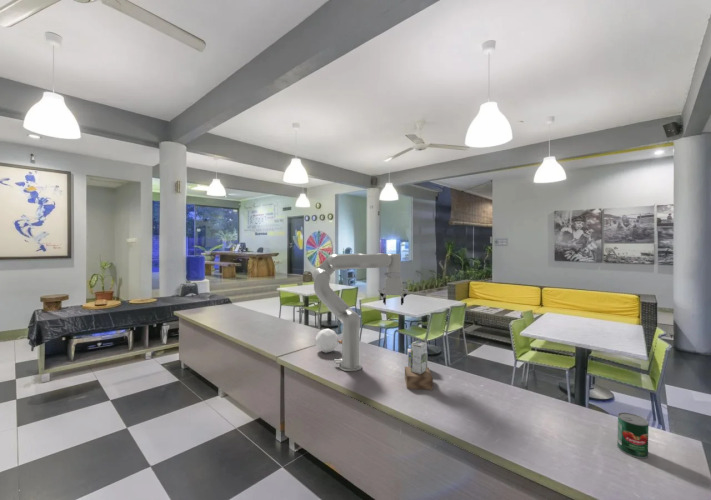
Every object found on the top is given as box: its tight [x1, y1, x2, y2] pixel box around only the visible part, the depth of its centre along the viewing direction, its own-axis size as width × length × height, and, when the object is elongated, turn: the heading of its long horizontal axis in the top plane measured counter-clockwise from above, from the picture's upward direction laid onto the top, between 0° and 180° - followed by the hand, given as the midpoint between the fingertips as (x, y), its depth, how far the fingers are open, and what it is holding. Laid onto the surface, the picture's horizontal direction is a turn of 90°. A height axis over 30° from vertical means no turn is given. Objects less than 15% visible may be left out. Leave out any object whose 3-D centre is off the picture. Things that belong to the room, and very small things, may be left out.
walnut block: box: [404, 366, 434, 390], centre depth 159 cm, size 12×12×6 cm
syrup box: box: [410, 340, 428, 374], centre depth 159 cm, size 6×6×14 cm
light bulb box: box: [407, 348, 428, 367], centre depth 177 cm, size 11×7×11 cm, turn 84°
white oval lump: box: [315, 328, 342, 354], centre depth 206 cm, size 14×15×20 cm
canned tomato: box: [616, 411, 650, 459], centre depth 108 cm, size 8×8×11 cm
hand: (393, 304), depth 186 cm, fingers open, 9 cm apart
